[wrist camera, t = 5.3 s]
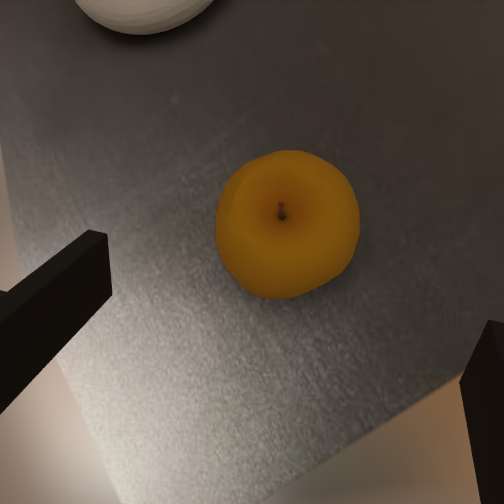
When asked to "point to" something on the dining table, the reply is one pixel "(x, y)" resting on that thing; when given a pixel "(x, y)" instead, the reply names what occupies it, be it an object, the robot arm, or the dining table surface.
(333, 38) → the dining table surface
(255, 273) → the apple
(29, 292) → the robot arm
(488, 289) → the dining table surface
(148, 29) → the decorative figurine
